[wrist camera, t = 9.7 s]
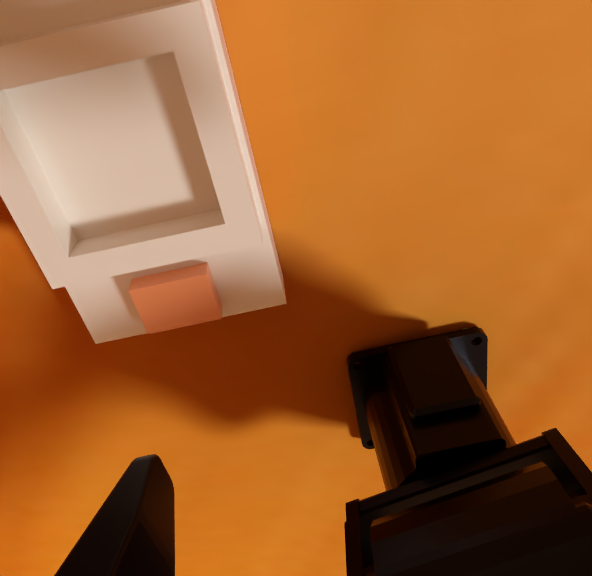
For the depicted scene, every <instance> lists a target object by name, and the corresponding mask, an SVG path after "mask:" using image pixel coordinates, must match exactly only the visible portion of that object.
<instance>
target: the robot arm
mask: <svg viewBox="0 0 592 576" xmlns="http://www.w3.org/2000/svg"><path fill="white" fill-rule="evenodd" d="M476 337H478V338H477V339H475V340H473V339H474V338H476ZM487 341H488V339H487V336H486V334H485V332H484V331H483V330H482V329H481V328H478V327H475V328H469V329H464V330H459V331H455V332H450V333H445V334H440V335H435V336H430V337H426V338H421V339H416V340H411V341H406V342H401V343H397V344H392V345H387V346H382V347H377V348H373V349H368V350H363V351H358V352H354V353H352V354H351V355H349V356H348V358H347V366H348V372H349V377H350V382H351V388H352V393H353V399H354V404H355V409H356V415H357V420H358V426H359V431H360V437H361V441H362V445H363V447H365V448H367V449H374V448H375V451H376V455H377V458H378V462H379V466H380V470H381V473H382V477H383V481H384V484H385V488H386V491H385V492H382V493H379V494H377V495H374V496H371V497H368V498H365V499H363V500H359V499H356V500H353V501H350V502H347V503H346V522H345V545H346V568H347V576H592V472H591V471H590V470H589V468H588V467H587V466H586V465H585V463H584V462H583V461H582V460H581V458H580V457H579V456H578V455H577V454H576V452H575V451H574V450H573V449H572V447H571V446H570V445H569V444H568V442H567V441H566V440H565V439H564V437H563V436H562V435H561V434H560V432H559V431H558V430H557V429H556V428H553V429H550V430H548V431H545V432H542V435H541V436H538V437H535V438H533V439H530V440H527V441H524V442H522V443H519V444H516V443H515V441H514V439H513V437H512V436H511V434H510V432H509V430H508V428H507V426H506V425H505V423H504V421H503V419H502V417H501V416H500V414H499V412H498V410H497V408H496V407H495V405H494V403H493V401H492V399H491V397H490V396H489V394H488V392H487ZM360 361H361V363H359V364H355V363H356V362H360ZM54 576H175V520H174V487H173V483H172V480H171V478H170V476H169V474H168V472H167V470H166V468H165V467H164V465H163V463H162V461H161V459H160V458H159V456H157V455H156V454H152V455H147V456H143V457H138V458H136V459H134V460H133V461H132V462H131V464H130V465H129V467H128V468H127V470H126V471H125V473H124V474H123V476H122V477H121V478H120V480H119V481H118V483H117V484H116V486H115V487H114V489H113V490H112V492H111V493H110V495H109V496H108V498H107V499H106V500H105V502H104V503H103V505H102V506H101V508H100V509H99V511H98V512H97V514H96V515H95V517H94V518H93V520H92V521H91V522H90V524H89V525H88V527H87V528H86V530H85V531H84V533H83V534H82V536H81V537H80V539H79V540H78V542H77V543H76V544H75V546H74V547H73V549H72V550H71V552H70V553H69V555H68V556H67V558H66V559H65V561H64V562H63V563H62V565H61V566H60V568H59V569H58V571H57V572H56V574H55V575H54Z"/></svg>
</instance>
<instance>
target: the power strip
mask: <svg viewBox="0 0 592 576" xmlns="http://www.w3.org/2000/svg"><path fill="white" fill-rule="evenodd" d="M0 196H1V197H2V199H3V201H4V203H5V205H6V206H7V208H8V210H9V212H10V214H11V216H12V217H13V219H14V221H15V223H16V225H17V226H18V228H19V230H20V232H21V234H22V235H23V237H24V239H25V241H26V243H27V244H28V246H29V248H30V250H31V252H32V253H33V255H34V257H35V259H36V261H37V262H38V264H39V266H40V268H41V270H42V271H43V273H44V275H45V277H46V279H47V281H48V282H49V284H50V286H51V288H52V289H56V288H61V287H65V288H66V290H67V291H68V293H69V295H70V297H71V299H72V301H73V303H74V304H75V306H76V308H77V310H78V312H79V314H80V316H81V318H82V319H83V321H84V323H85V325H86V327H87V329H88V331H89V332H90V334H91V336H92V338H93V340H94V342H95V344H98V343H103V342H108V341H112V340H117V339H122V338H127V337H131V336H136V335H141V334H146V333H148V334H153V333H157V332H162V331H167V330H172V329H176V328H181V327H186V326H190V325H195V324H200V323H205V322H209V321H214V320H219V319H222V317H226V316H231V315H236V314H240V313H245V312H250V311H255V310H259V309H264V308H269V307H274V306H278V305H283V304H287V303H286V296H285V288H284V280H283V274H282V270H281V266H280V262H279V258H278V254H277V250H276V246H275V242H274V238H273V234H272V230H271V226H270V222H269V218H268V214H267V209H266V205H265V201H264V197H263V193H262V189H261V185H260V181H259V177H258V173H257V169H256V165H255V161H254V157H253V153H252V149H251V145H250V141H249V136H248V132H247V128H246V124H245V120H244V116H243V112H242V108H241V104H240V100H239V96H238V92H237V88H236V84H235V80H234V76H233V72H232V68H231V64H230V59H229V55H228V51H227V47H226V43H225V39H224V35H223V31H222V27H221V23H220V19H219V15H218V11H217V7H216V3H215V0H0Z"/></svg>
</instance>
